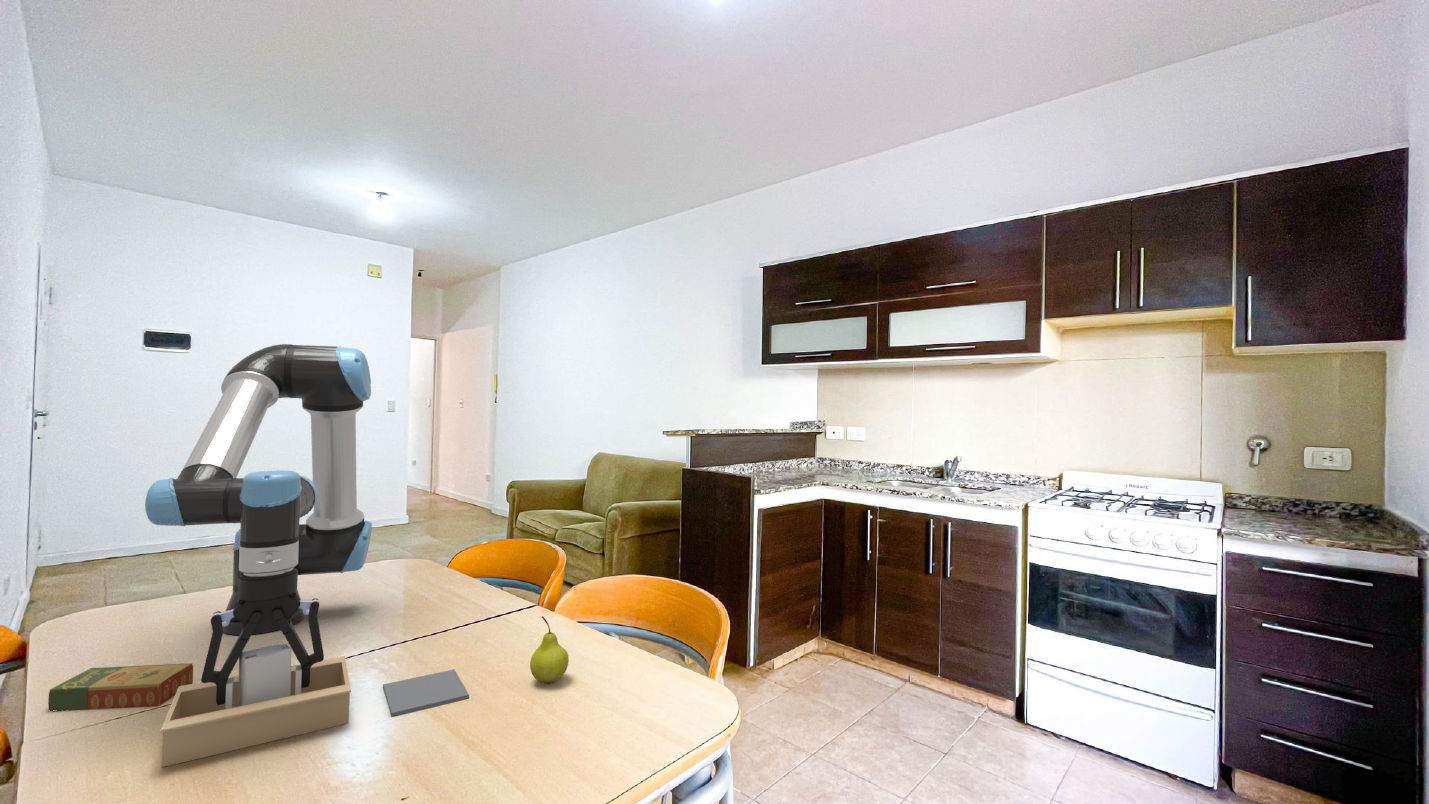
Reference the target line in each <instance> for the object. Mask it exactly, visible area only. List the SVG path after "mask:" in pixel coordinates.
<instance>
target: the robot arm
mask: <svg viewBox="0 0 1429 804" xmlns="http://www.w3.org/2000/svg"><path fill="white" fill-rule="evenodd" d="M371 378H372V377H371V372H370V366H369V362H368V360H367V357H366V355H365V354H364V352H363V351H362V350H360V349H358V348H350V347H344V346H336V345H335V346H331V345H308V344H307V345H304V344H299V345H298V344H290V343H286V344H285V343H281V344H275V345H274V344H273V345H270V346H267V347H264V348H261V349H259V350H256V351H255V352H253V353H251V354H248V355H247V356H245V357H244V358H242V359H241V360H239V362H237V363H236V364H235V365H234V366H233V367H232V368H231V369H230V370H229V371H228V372H227V374H226V375H225V377H224V378H223V380H222V383H221V387H220V389H221V394H222V396H221V397H220V399H219V401H218V403H217V404H216V407H215V408H214V409H213V410H214V411H212V414H211V416H210V418H209V419H208V422H207V423H206V425H205V427H204V429H203V431H202V433H201V435H200V436H199V439H198V440H197V442H196V444H195V446H194V448H193V450H192V451H191V453H190V455H189V457H188V459H187V461H186V463H185V465H184V466H183V468H182V470H181V472H180V473H179V474H178V476H177V478H173V477H170V478H167V479H164V478H163V479H159V480H156V481H155V482H153V483H152V484H151V486H150V487H149V488H148V490H147V492H146V497H145V501H144V502H145V503H144V509H145V513H146V514H145V515H146V516H147V519H148V521H149V522H150V523H151V524H153V525H156V526H167V527H169V526H170V527H171V526H172V527H179V526H180V527H186V526H199V525H200V526H201V525H202V526H203V525H219V524H221V525H222V524H240V528H239V529H238V530H237V531H236V532H235V535H234V536H235V537H234V544H233V547H232V551H233V565H232V566H233V567H232V568H233V569H232V594H231V597H230V599H229V601H228V603H227V606H226V609H225V610H224V611H219V610H218V611H217V610H216V611H214V612H213V614H212V615H211V619H210V625H211V630H212V633H211V639H210V642H209V646H208V649H207V655H206V658H205V662H204V666H203V671H202V675H201V679H200V682H202V683H208V682H211V683H215V684H216V686H217V690H216V703H217V705H222V704H225V709H229V708H233V693H234V677H233V676H230V675H231V673H232V671H233V670H234V668H235V666H236V664H237V662H238V661H239V657H240V655H241V653H242V652H244V649H245V647H246V645H247V643H248V642H249V640H250V638H251V637H252V635H256V634H257V635H258V634H264V633H270V632H275V631H278V630H280V631H281V632H282V634H283V635H284V638H285V639H286V640H287V643H288V646H289V647H290V648H291V651H292V652H293V654H294V655H295V657H296V659H297V661H298V664H295V665H296V681H295V695H297V694H301V688H306V687H308V686H309V684H310V668H311V666H312V665H313V664H315V663H317V662H321V661H323V660H325V658H324V657H325V654H324V647H323V642H322V636H321V631H320V626H319V625H320V624H319V619H318V614H319V609H320V600H319V599H318V598H317V597H316V598H312V599H311V600H306V599H304V600H302V598H301V595H300V593H299V590H298V576H305V575H306V576H308V575H309V576H310V575H323V574H336V573H337V574H338V573H340V574H343V573H347V572H356V571H359V570H361V569H362V568H363V567H364V565H365V564H366V559H367V556H368V552H369V547H370V541H371V536H372V528H373V526H372V525H373V523H372V521H369V520H365V514H364V512H363V511H362V510H360V509H358V505H357V504H358V503H357V492H358V491H357V430H356V429H357V427H356V425H357V423H356V422H357V421H356V419H357V418H356V415H357V413H358V412H359V411H361V410H362V409H363V407H364V402H366V401H368V400H369V399H370V398H371V394H372V386H371V384H372V379H371ZM282 398H283V399H301V407H302V410H305V411H306V412H307V413H308V414H309V415H310V429H311V431H310V432H311V436H310V438H311V465H312V466H311V467H312V469H311V471H312V480H311V479H310V478H308V477H306V476H304V475H301V474H300V473H298V472H296V471H294V470H263V471H254V472H249V473H247V474H245V476H244V477H242V478H241V477H240V478H239V477H238V475H239V473H240V471H241V468H242V467H243V464H244V462H245V460H246V457H247V456H248V452H249V450H250V448H251V447H252V444H253V441H254V439H255V437H256V435H257V433H258V430H259V428H260V425H261V423H262V422H263V421H264V418H265V414H266V413H267V410H268V409H269V408H271V407H272V406H273V407H274V405H275V404H276V403H277V402H278V400H279V399H282ZM312 510H313V512H312V513H311V514H310V515H308V514H309V513H310V512H311V511H312ZM306 515H308V517H307V518H306V520H305V523H302V524H300V519H301V518H303V517H305V516H306ZM305 616H307V619H308V620H307V621H308V627H309V634H310V638H311V644H312V649H313V650H312V651H313V653H311V654H309V653H308V651H307V649H306V648H305V645H304V643H303V642H302V640H301V638H300V636H299V634H298V633H297V631H296V629H295V627H294V626H295V625H296V624H298V623H300V622H301V621H303V619H304V618H305ZM224 634H228V635H236V636H238V637H237V639H236V640H235V641H236V642H235V643H234V645H233V646H232V649H231V650H230V652H229V654H228V656H227V657H226V659H225V662H224V663H223V665H222V667H221V669H220V671H219V670H215V667H216V663H217V660H218V655H219V651H220V646H221V643H222V639H223V635H224ZM299 664H300V665H299ZM228 677H229V678H228Z"/></svg>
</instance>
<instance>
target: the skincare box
mask: <svg viewBox="0 0 1429 804" xmlns="http://www.w3.org/2000/svg"><path fill="white" fill-rule="evenodd" d="M291 666H292V648H291V646H290V645H289V644H287V643H285V641H283V642H278V643H274V644H271V645H266V646H262V647H257V648H254V649H249V650H245V651H242V653H241V655H240V657H239V659H238V675H239V706H244V705H249V704H253V703H258V702H263V701H268V700H273V699H278V698H283V697H288V696H291Z"/></svg>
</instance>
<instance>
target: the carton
mask: <svg viewBox="0 0 1429 804" xmlns="http://www.w3.org/2000/svg"><path fill="white" fill-rule="evenodd" d="M193 682H194V664H193V663H190V662H189V663H188V662H187V663H172V664H171V663H167V664H152V665H150V664H149V665H148V664H146V665H131V666H129V665H128V666H110V667H109V666H106V667H104V666H103V667H90V668H89V669H87V670H85V671H82V672H81V673H79V674H77V675H75V676H73V677H71V678H70V679H68V680H65V681H64V682H61V683H60V684H58V685H56V686H54V687H52V688H50V689H49V691H48V699H47V701H48V702H47V703H48V711H49V710H50V711H52V712H54V711H53V710H57V711H56V712H68V711H69V712H70V711H85V710H107V709H108V710H109V709H127V708H149V707H160V706H162V705H164V704H165V703H166V702H168V701H169V700H170V699H172V698H174V697H175V694H176V692H177V689H178V687H179V686H184V685H189V684H194V683H193ZM62 710H63V711H62ZM66 710H68V711H66ZM50 711H49V712H50Z"/></svg>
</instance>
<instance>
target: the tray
mask: <svg viewBox="0 0 1429 804" xmlns="http://www.w3.org/2000/svg"><path fill="white" fill-rule="evenodd" d="M296 665H297V664H295V665H291V696H288V697H283V698H278V699H273V700H268V701H263V702H258V703H253V704H249V705H244V706H239V674H238V675H234V676H232V677H234V693H233V708H229V709H225V704H222V705H217V703H216V690H217V686H216V684H215V683H211V682H208V683H202V682H201V681H200V682H195V683H192V684H189V685H184V686H179V687H178V689H177V692H176V694H175V696H174V697H173V700H172V702H171V704H170V707H169V709H168V711H167V714H166V716H165V718H164V721H163V723H162V727H161V728H160V733H162V746H161V747H162V750H161V753H162V754H161V768H165V767H169V766H173V765H174V766H175V765H177V764H182V763H185V762H191V761H194V760H199V759H202V758H207V757H211V756H216V755H220V754H224V753H227V752H228V753H229V752H232V751H236V750H240V749H244V748H248V747H254V746H257V745H261V744H266V743H268V742H270V743H271V742H275V741H278V740H283V739H286V738H292V737H295V736H299V735H304V734H309V733H313V732H317V731H320V730H325V729H329V728H332V727H333V728H334V727H336V726H337V727H338V726H341V725H347V724H349V722H350V700H351V699H350V698H351V695H350V694H351V692H352V688H351V685H350V684H351V683H350V678H349V673H348V668H347V660H346V656H345V655H344V656H337V657H334V658H332V657H331V658H327V659H323V661H321V662H317V663H315V664H313V665H312V666H311V668H310V684H309V686H308V687H306V688H301V694H297V695H295V681H296ZM298 665H300V663H298ZM229 677H230V676H229ZM229 677H228V678H229Z"/></svg>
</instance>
